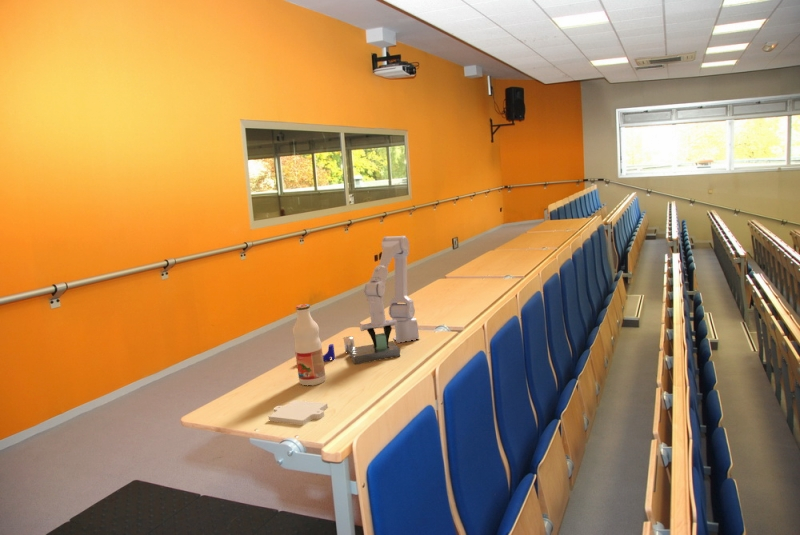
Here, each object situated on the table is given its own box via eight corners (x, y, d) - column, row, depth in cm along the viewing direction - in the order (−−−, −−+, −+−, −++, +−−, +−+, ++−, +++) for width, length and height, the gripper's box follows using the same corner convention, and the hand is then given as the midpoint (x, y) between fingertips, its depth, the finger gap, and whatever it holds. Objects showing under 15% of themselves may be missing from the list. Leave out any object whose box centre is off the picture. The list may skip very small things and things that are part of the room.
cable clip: (303, 364, 238) (301, 350, 237) (305, 361, 242) (303, 346, 241) (333, 362, 237) (331, 347, 236) (335, 358, 242) (333, 344, 241)
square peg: (385, 347, 242) (383, 333, 241) (387, 350, 238) (385, 335, 237) (375, 349, 241) (373, 334, 240) (377, 351, 237) (375, 337, 236)
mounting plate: (334, 409, 190) (333, 404, 190) (310, 427, 179) (310, 421, 178) (288, 404, 198) (287, 399, 198) (262, 421, 187) (261, 415, 187)
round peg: (354, 349, 250) (352, 335, 249) (355, 352, 246) (354, 338, 245) (344, 351, 249) (343, 337, 248) (346, 354, 245) (344, 339, 244)
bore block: (393, 348, 246) (392, 340, 246) (400, 356, 235) (399, 348, 234) (349, 355, 243) (348, 348, 242) (354, 364, 231) (353, 356, 231)
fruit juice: (328, 382, 214) (318, 305, 209) (302, 388, 211) (291, 310, 206) (323, 375, 223) (313, 300, 218) (297, 380, 220) (287, 305, 215)
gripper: (360, 317, 231) (364, 351, 233) (397, 311, 234) (401, 345, 237) (357, 313, 238) (361, 346, 240) (393, 307, 241) (397, 340, 243)
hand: (381, 345), depth 239 cm, fingers closed on square peg, 4 cm apart
